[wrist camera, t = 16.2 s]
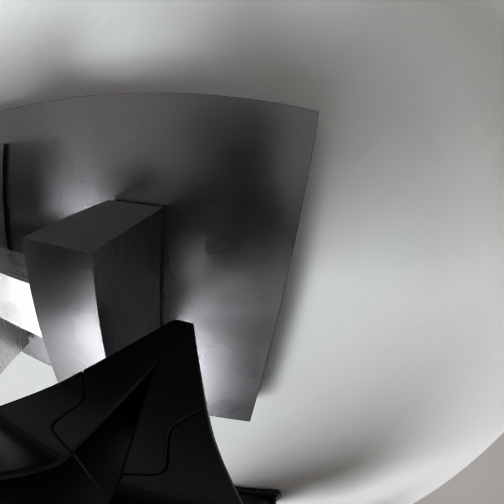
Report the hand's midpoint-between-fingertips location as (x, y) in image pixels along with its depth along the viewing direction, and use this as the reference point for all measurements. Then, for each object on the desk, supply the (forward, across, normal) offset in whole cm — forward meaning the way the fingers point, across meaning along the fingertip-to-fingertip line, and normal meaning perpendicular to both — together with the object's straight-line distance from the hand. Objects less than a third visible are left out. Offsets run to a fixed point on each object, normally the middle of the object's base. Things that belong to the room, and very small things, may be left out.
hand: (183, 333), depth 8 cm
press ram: (+2, +7, 0) cm, 7 cm away
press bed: (+3, +10, 0) cm, 10 cm away
